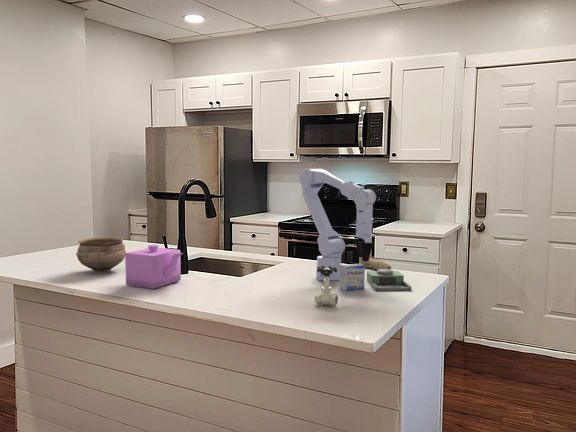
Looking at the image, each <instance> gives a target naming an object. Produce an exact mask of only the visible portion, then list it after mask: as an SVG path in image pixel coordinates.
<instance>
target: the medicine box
mask: <svg viewBox="0 0 576 432" xmlns="http://www.w3.org/2000/svg"><path fill="white" fill-rule="evenodd" d="M365 272H366V267H365V266H364V265H362V264H361V263H351V264H348V263H347V264H341V265H340V280H339V289H341V290H343V291H346V292H349V291H358V290H359V291H360V290H364V289H365V283H366V282H365V278H366V277H365V276H366V273H365Z"/></svg>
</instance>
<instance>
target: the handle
mask: <svg viewBox="0 0 576 432" xmlns="http://www.w3.org/2000/svg"><path fill="white" fill-rule="evenodd" d="M360 264H362V265H364V266H365V268H370V267H371V268H373V269H375V270H376V271H377V270H379V269H389V270H392V266H391V265H390V264H388V263H386V262H385V261H381V260H379V259H375V258H374V256H372V255H370V257H369V261H362V257H360Z"/></svg>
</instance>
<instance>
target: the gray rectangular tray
mask: <svg viewBox="0 0 576 432" xmlns="http://www.w3.org/2000/svg"><path fill="white" fill-rule="evenodd" d="M370 286H371V287H372V289H373V290H374V291H375V292H402V291H403V292H406V291H407V292H408V291H409V292H410V291H412V286H411V285H410V284H409V283H408V282H407V281H405V280H404V281H402V284H375V283H374V282H373V281H371V284H370Z"/></svg>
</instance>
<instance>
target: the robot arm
mask: <svg viewBox="0 0 576 432" xmlns="http://www.w3.org/2000/svg"><path fill="white" fill-rule="evenodd" d="M298 181H299V183H300V184H301V192H302V197H303V199H304V202H305V204H306V207H307V208H308V212H309V214H310V216H311V218H312V220H313V224H314V225H315V228H316V229H317V232H318V234H319V236H318V238H317V239H316V241H317V243H318V251H319V252H320V254H321V255H318V256H317V257H316V268H317V267H321V266H325V267H328V266H331V267H332V268H333V267H336V268H337V272H335V271H333V273H332V274H330V276H329V277H328V279H329V280H330V281H340V265H342V255H343V253H344V251H345V250H346V244H345V241H344V239H343V238H341V236H340V234H339V233H338V232H337V231H335V230H334V229H333V227H332V224H331V222H330V221H329V220H330V219H329V218H328V216H327V213H326V211H325V208H324V207H323V205H322V202H321V199H320V197H319V195H318V193H319V191H320V190H321V188H322V187H323V186H324V184H327V185H330V186H332V187H334V188H336V189H339V191H340V194H341V195H342V196H345V197H346V198H348V199H350V200H352V201H353V202H354V204H355V207H356V208H355V209H356V226H355V228H356V229H355V237H354V238H353V241H354V243H355V246H356V252H357V256H358V258H362V261H369V257H370V256H371V253H372V250H373V247H374V246H375V242H374V241H373V242H372V238H374V237H376V234H374V233H373V209H374V206H373V205H374V203H375V202H376V199H377V195H376V193H375V191H374V190H372V189H371V188H367V189H365V186H364V185H359V184H357V183H356V182H355V181H354V180H351V179H350V180H342V179H341V178H338V177H337V176H336V175H334V174H333V173H330V172H329V171H328V170H325V169H323V168H304V169H303V170H302V171H301V172H300V175H299V178H298ZM315 273H316V274H315V275H316V278H317V280H318V281H324V279H325V276H324V275H323V274H321V273H320V272H317V270H316V272H315Z"/></svg>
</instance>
